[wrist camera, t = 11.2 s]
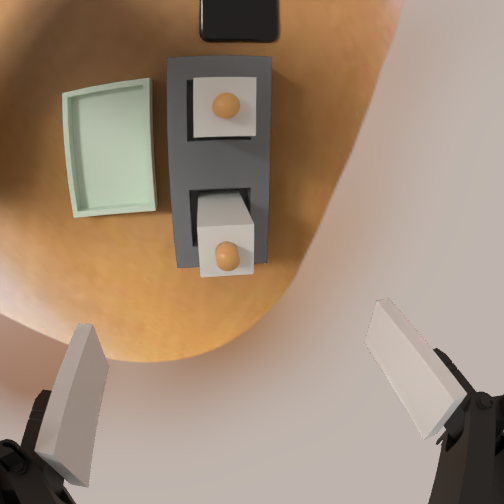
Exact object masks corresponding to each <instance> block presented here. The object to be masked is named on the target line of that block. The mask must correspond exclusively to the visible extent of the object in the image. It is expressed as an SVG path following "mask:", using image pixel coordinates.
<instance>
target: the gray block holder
mask: <svg viewBox="0 0 504 504" xmlns="http://www.w3.org/2000/svg"><path fill="white" fill-rule="evenodd" d="M271 71H272V57H267V56H243V55H209V56H185V57H171V58H167V134H168V159H169V178H170V194H171V207H172V220H173V231H174V241H175V251H176V261H177V268H191V267H200V263H199V250H198V235H197V213H198V192H208V191H229V190H238V191H239V193H240V195H241V197H242V199H243V201H244V204H245V206H246V208H247V210H248V212H249V214H250V216H251V218H252V221H253V223H254V264H257V263H267V243H268V212H269V177H270V133H271Z"/></svg>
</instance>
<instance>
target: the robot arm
mask: <svg viewBox="0 0 504 504" xmlns="http://www.w3.org/2000/svg"><path fill="white" fill-rule="evenodd" d="M364 343H365V345H366V346H367V348H368V349H369V351H370V352H371V354H372V356H373V357H374V359H375V360H376V362H377V363H378V365H379V366H380V368H381V369H382V371H383V373H384V374H385V376H386V377H387V379H388V381H389V382H390V384H391V386H392V387H393V389H394V390H395V392H396V394H397V395H398V397H399V398H400V400H401V402H402V403H403V405H404V407H405V408H406V410H407V412H408V413H409V415H410V416H411V418H412V420H413V422H414V423H415V425H416V427H417V428H418V430H419V432H420V434H421V435H422V437H423V439H424V440H425V439H427V438H429V437H431V436H433V435H435V434H437V433H438V432H439V431H440V429H441V428H442V427H443V426H444V427H445V428H446V431H445V432H444V433H443V434H442V436H441V437H440V438H439V439H438V440H437V442H436V444H437V445H438V444H439V443H440V442H441V441H442V439H443V442H442V444H441V445H442V447H441V453H440V458H439V463H438V467H437V472H436V477H435V480H434V484H433V488H432V493H431V496H430V499H429V503H428V504H504V431H503V430H504V395H501V396H495V397H491V396H490V395H489V394H487V393H485V392H476V391H475V390H474V389H473V387H472V386H471V385H470V384H469V382H468V381H467V380H466V378H465V377H464V376H463V375H462V373H461V372H460V371H459V370H457V367H456V366H455V365H454V364H453V363H452V361H451V360H450V359H449V357H448V356H447V355H446V354H445V353H443V352H442V351H440V350H439V349H438V348H436V349H432V348H431V347H430V346H429V345H428V343H427V342H426V341H425V340H424V339H423V337H422V336H421V335H420V334H419V333H418V331H417V330H416V329H415V328H414V327H413V326H412V324H411V323H410V322H409V321H408V320H407V319H406V317H405V316H404V315H403V314H402V313H401V312H400V310H399V309H398V308H397V307H396V306H395V305H394V304H393V302H392V301H391V300H390V299H389V298H388V299H382V300H377V301H376V303H375V307H374V311H373V314H372V318H371V321H370V325H369V329H368V331H367V335H366V338H365V341H364ZM108 370H109V365H108V363H107V360H106V358H105V355H104V353H103V350H102V347H101V345H100V342H99V339H98V337H97V334H96V331H95V328H94V326H93V324H78V325H77V327H76V330H75V332H74V335H73V337H72V339H71V342H70V344H69V347H68V349H67V352H66V354H65V357H64V359H63V362H62V365H61V367H60V370H59V373H58V375H57V378H56V381H55V384H54V387H53V390H52V391H49V390H42V392H41V393H40V394H39V395H38V397H37V398H36V399H35V402H34V405H33V407H32V411H31V414H30V416H29V418H30V419H29V420H28V423H27V426H26V429H25V432H24V436H23V439H22V443H21V446H19V445H18V444H17V443H16V442H15V441H13V440H9V439H5V440H2V441H0V504H76V503H75V502H74V500H73V499H72V497H71V496H70V494H69V492H68V491H67V489H66V488H65V487H64V486H63V483H64V479H65V480H66V481H68V482H69V483H70V484H72V485H78V486H83V487H88V486H89V477H90V468H91V461H92V460H91V459H92V453H93V447H94V440H95V434H96V427H97V423H98V417H99V411H100V407H101V402H102V396H103V392H104V387H105V383H106V378H107V374H108Z"/></svg>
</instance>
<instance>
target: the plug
mask: <svg viewBox="0 0 504 504" xmlns="http://www.w3.org/2000/svg"><path fill="white" fill-rule="evenodd" d="M197 235H198V250H199V263H200V275H201V277H215V276H230V275H245V274H254V223H253V221H252V218H251V216H250V214H249V212H248V210H247V208H246V206H245V204H244V201H243V199H242V197H241V195H240V193H239V191H238V190H229V191H208V192H198V213H197Z"/></svg>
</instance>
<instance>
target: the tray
mask: <svg viewBox="0 0 504 504" xmlns="http://www.w3.org/2000/svg"><path fill="white" fill-rule="evenodd" d="M62 113H63V134H64V147H65V158H66V168H67V176H68V184H69V191H70V198H71V205H72V211H73V216H74V218H77V217H87V216H98V215H108V214H120V213H132V212H145V211H156V209H157V206H158V200H157V188H156V174H155V158H154V137H153V80H152V79H151V78H143V79H135V80H128V81H121V82H114V83H108V84H103V85H97V86H92V87H87V88H82V89H78V90H73V91H69V92H65V93H62Z"/></svg>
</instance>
